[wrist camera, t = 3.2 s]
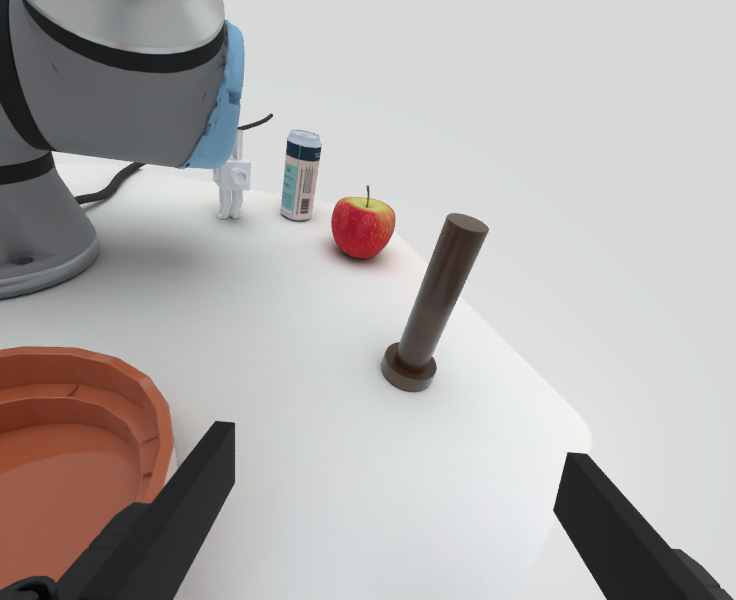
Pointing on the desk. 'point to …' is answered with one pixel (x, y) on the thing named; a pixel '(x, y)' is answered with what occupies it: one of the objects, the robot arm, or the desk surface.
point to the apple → (362, 225)
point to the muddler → (434, 303)
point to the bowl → (73, 453)
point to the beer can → (300, 174)
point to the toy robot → (233, 180)
